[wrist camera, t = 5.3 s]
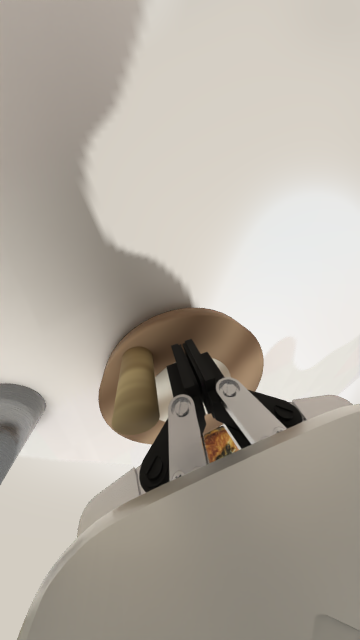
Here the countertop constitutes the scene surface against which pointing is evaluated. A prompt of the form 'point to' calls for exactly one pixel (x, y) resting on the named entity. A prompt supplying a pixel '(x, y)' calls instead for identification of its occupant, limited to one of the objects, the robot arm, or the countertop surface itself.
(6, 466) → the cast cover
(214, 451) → the bread roll
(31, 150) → the countertop surface
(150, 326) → the turntable
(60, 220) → the countertop surface
